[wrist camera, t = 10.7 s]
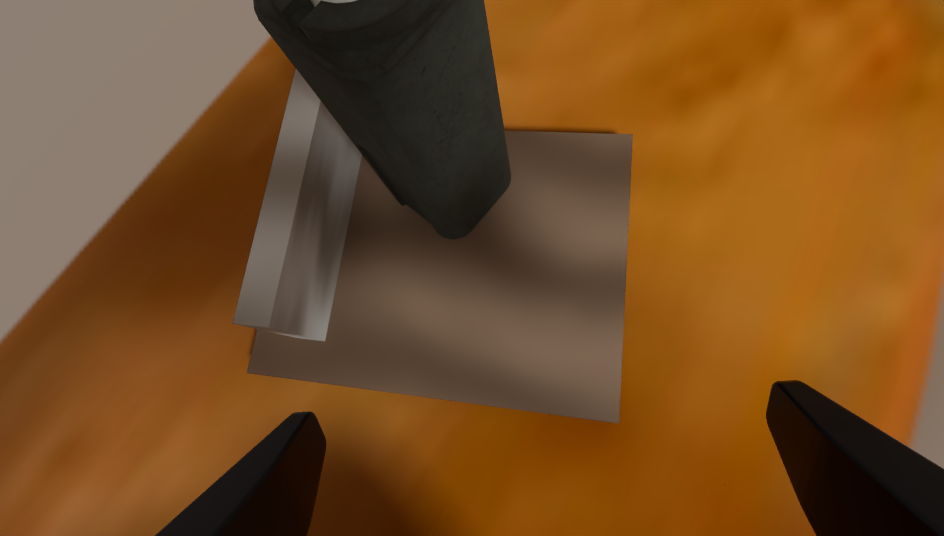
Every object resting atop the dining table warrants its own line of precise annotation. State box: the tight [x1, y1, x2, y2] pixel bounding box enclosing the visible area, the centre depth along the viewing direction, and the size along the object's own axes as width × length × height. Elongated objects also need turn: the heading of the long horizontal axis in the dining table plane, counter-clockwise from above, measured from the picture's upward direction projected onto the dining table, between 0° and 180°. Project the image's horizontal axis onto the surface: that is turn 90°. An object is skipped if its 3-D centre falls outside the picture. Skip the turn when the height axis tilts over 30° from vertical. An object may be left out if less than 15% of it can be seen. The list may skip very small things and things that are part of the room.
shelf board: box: [233, 69, 633, 423], centre depth 22 cm, size 14×18×6 cm
